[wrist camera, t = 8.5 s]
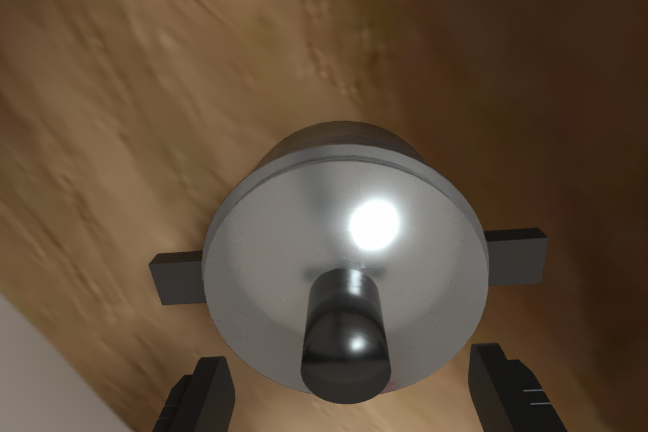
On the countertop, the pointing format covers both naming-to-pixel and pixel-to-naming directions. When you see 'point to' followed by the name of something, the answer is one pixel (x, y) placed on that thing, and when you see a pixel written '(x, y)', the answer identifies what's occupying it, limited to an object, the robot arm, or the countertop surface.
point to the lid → (346, 277)
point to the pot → (361, 140)
